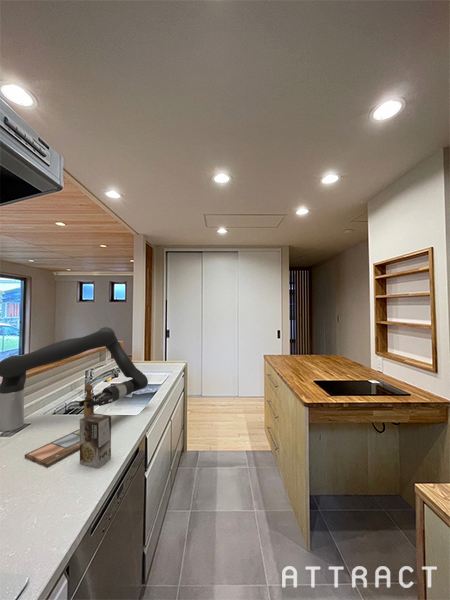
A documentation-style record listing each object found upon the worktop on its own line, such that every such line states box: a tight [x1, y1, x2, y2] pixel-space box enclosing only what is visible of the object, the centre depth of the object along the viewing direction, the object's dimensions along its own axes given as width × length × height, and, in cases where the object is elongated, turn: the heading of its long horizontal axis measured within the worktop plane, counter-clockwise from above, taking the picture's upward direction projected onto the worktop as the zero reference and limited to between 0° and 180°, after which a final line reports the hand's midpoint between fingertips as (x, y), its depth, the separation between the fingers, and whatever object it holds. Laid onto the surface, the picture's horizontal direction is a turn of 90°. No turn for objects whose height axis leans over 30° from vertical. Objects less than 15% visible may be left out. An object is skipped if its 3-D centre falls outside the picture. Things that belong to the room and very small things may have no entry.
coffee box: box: [79, 412, 112, 469], centre depth 98 cm, size 9×6×16 cm
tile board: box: [24, 428, 80, 468], centre depth 109 cm, size 14×27×2 cm, turn 155°
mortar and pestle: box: [83, 384, 95, 418], centre depth 118 cm, size 7×6×18 cm
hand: (83, 405), depth 115 cm, fingers closed on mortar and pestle, 4 cm apart
